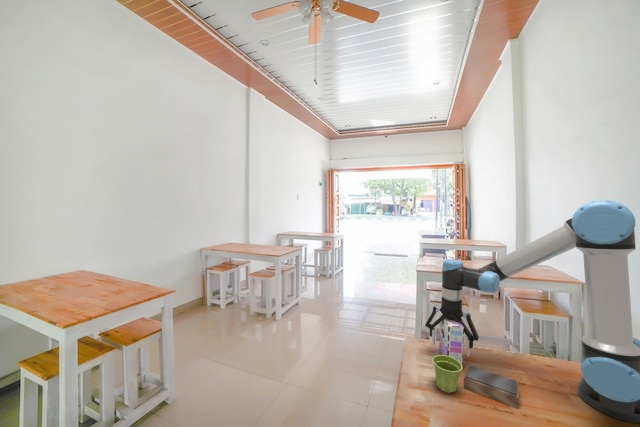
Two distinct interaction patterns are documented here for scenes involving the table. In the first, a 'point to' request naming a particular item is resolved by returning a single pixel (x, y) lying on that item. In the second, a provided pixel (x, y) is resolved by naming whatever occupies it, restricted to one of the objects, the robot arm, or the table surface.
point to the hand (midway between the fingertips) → (450, 349)
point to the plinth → (492, 385)
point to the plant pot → (447, 372)
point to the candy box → (451, 339)
